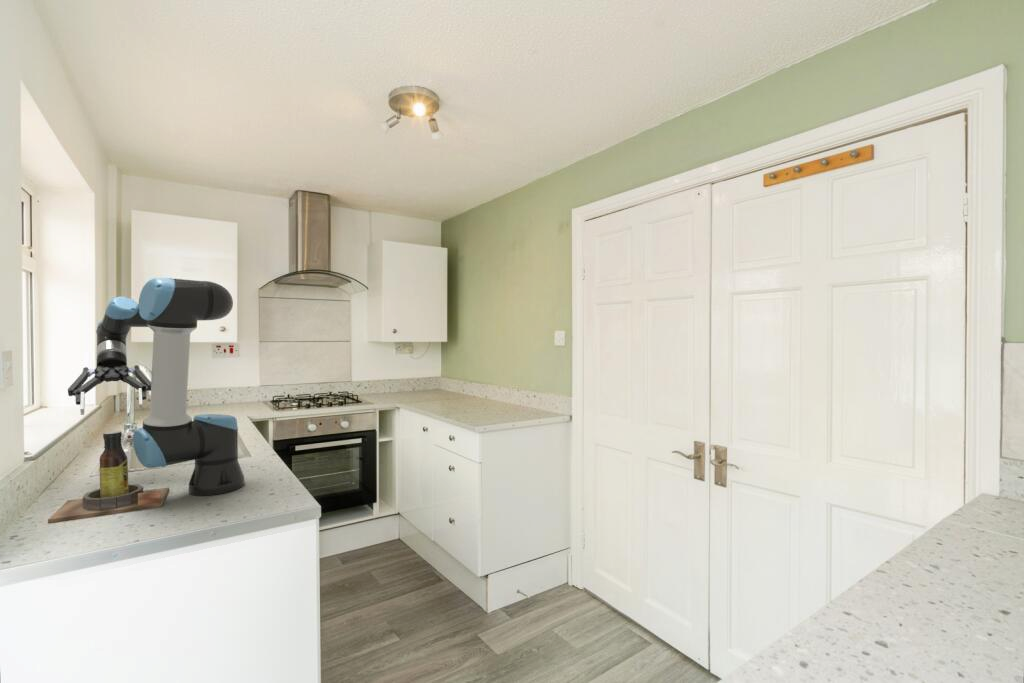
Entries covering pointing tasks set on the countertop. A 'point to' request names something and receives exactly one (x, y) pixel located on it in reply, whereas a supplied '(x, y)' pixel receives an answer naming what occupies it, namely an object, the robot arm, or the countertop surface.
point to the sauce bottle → (113, 467)
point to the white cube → (128, 456)
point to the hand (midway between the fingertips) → (112, 409)
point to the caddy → (110, 503)
